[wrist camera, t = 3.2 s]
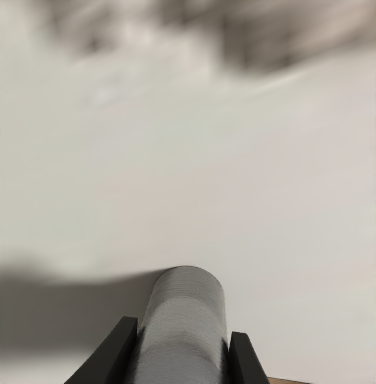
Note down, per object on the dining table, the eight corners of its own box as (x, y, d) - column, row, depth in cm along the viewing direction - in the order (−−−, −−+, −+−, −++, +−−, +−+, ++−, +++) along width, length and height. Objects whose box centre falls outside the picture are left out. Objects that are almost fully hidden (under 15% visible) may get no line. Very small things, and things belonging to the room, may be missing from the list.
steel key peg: (233, 268, 13) (264, 479, 5) (222, 333, 14) (236, 577, 7) (150, 258, 13) (71, 446, 6) (147, 323, 15) (79, 547, 7)
